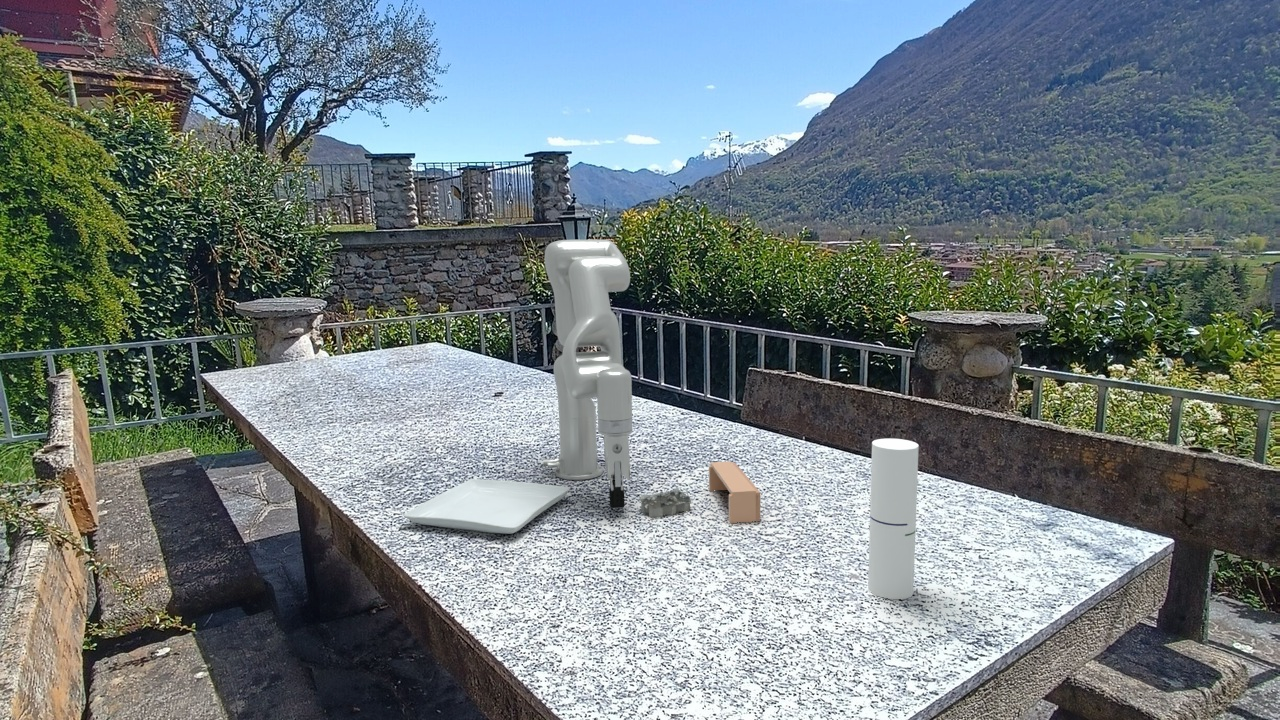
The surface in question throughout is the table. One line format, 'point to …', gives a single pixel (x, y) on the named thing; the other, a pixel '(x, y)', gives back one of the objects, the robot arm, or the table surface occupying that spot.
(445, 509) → the square plate
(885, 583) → the cylindrical container
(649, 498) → the egg carton
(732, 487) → the shelf
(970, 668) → the table surface
